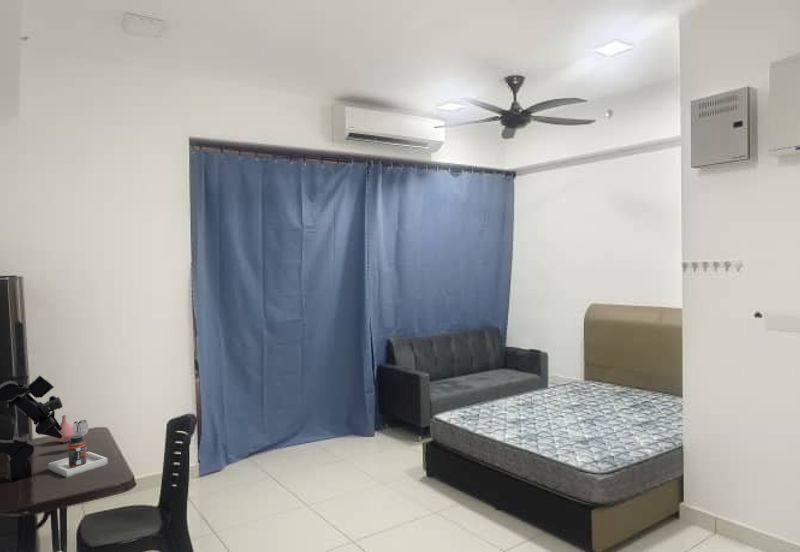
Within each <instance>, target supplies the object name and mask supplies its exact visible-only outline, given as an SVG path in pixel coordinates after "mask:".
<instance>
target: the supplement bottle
mask: <svg viewBox="0 0 800 552" xmlns="http://www.w3.org/2000/svg"><path fill="white" fill-rule="evenodd" d="M83 437H84V436H82V435H76V436H75V435H74V436H72V437H71V440H70V442H69V443H68V444H67V449H68V450H67V451H68V452H67V454H68V457H69V466H70V467H78V466H81V465H84V464H86V452H87V449H86V447H87V445H86V444H87V443H86V441H85V440H84V439H83Z"/></svg>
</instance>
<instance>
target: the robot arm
mask: <svg viewBox="0 0 800 552" xmlns="http://www.w3.org/2000/svg"><path fill="white" fill-rule="evenodd" d="M54 388H55V387H54V385H52V383H50V382H49V381H48V379H45V378H44V377H43V376H41V375H39V376H37V377H36V378H35V379H34V380H33V381H32V382H30V383H29V384H19V383H17V382H15V381H14V380H13V381H12V380H8V381H5V382H3V383H1V384H0V402H5V401H7V409H11V408H13V407H14V406H15V408H17V410H19V411H20V412H21V413H23V414H24V417H25V418H26V419H28V418H29V420H31V421H32V422H33V425H35V431H34V432H35V433H36V434H37V435H38V436H39V435H41V436H42V435H43V436H49V437H52V438H55V437H56V438H62V435H61V433H60V432H59V431H60V430H61V429H62V428H61V426H60V425H61V424H60V423H59V422H58V421H57V418H56V417H55V416H56V415H55V413H56V412H55V411H56V410H57V409H58V410H60V409H61V408H63V403H62V400H61V398H60V397H59V396H57V397H56V396H55V395H51V396H49V398H48V401H46V402H44V403H43V402H42V401H37V400H36V399H42V398H43V397H44V396H45V395H46V394H48V393H49V392H50V391H52V389H54ZM58 430H59V431H58ZM56 438H55V439H56ZM34 450H35V449H34V445H33V442H32V441H31V440H30V439H28V438H27V437H26V436H24V437H20V436H16V435H13V438H12V439H10V440H9V439H8V440H7V439H6V440H5V439H0V453H4V454H6V455H7V458H8V461H9V462H7V463H6V465H7V466H6V469H7V476H5V479H6V480H8V481H10V482H12V483H15V482H17V481H21V480H24V479H27V478H31V477H32V476H33V474H32V462H31V461H30V459H29V458H30V456H32V454H33V453H34Z"/></svg>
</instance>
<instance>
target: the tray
mask: <svg viewBox="0 0 800 552" xmlns="http://www.w3.org/2000/svg"><path fill="white" fill-rule="evenodd" d="M108 464H109V463H108V457H105V456H102V455H100V454H97V453H94V452H91V451H86V464H84V465H81V466H78V467H70V466H69V456H68V457H65V458H61V459H59V460H55V461H52V462H48V470H49V471H51V472H53V473H55V474H58V475H60V476H63V477H64V478H71V477H73V476H77V475H79V474H82V473H86V472H89V471H91V470H95V469H98V468H102V467H104V466H106V465H108Z"/></svg>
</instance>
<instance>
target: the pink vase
mask: <svg viewBox="0 0 800 552" xmlns="http://www.w3.org/2000/svg"><path fill="white" fill-rule="evenodd" d="M61 420H62V421H61V422H60V424H59V425H60V426H61V428H62V429H61V430H60V431H59V430H58V431H59V432H60V433H61V435H62V438H56V437H54V438H55V439H56V442H59V443H60V442H61V443H62V442H63V443H62V444H65V442H66V443H68V442H69V441H71V437H72V436H75V435H74V434H73V426H72V425H70V424H69V422H68V420H67V415H66V414H64V415H61Z"/></svg>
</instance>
